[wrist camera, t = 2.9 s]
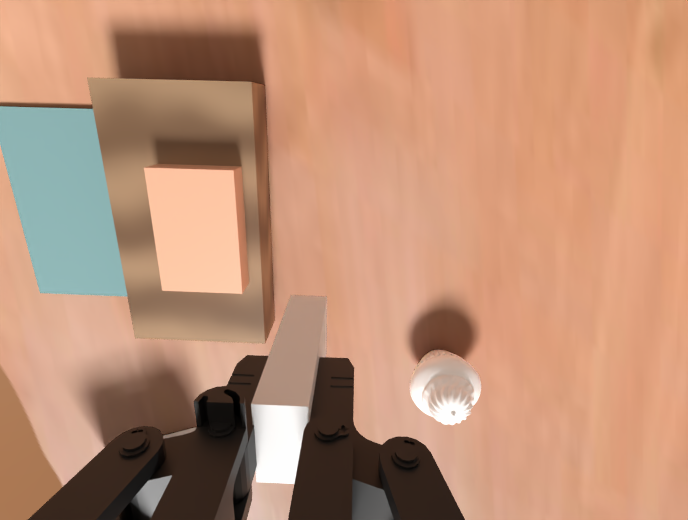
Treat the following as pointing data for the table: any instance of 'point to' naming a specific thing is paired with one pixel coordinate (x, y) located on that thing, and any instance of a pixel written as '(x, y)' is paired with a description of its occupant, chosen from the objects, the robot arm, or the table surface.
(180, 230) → the block
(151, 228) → the brown wooden slab
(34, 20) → the table surface
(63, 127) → the mat
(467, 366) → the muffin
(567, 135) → the table surface
